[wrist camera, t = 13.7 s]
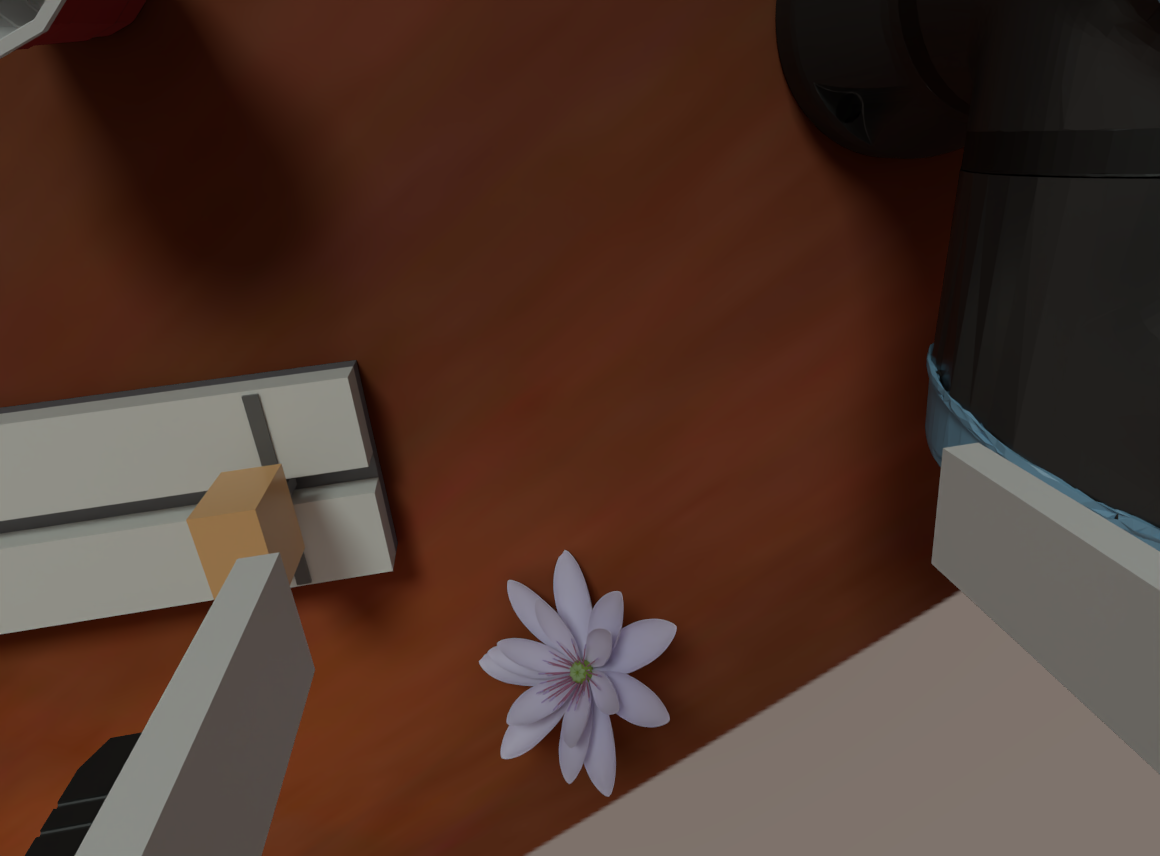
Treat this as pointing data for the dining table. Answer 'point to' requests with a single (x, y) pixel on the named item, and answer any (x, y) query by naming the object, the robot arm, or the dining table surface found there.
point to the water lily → (577, 673)
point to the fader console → (178, 489)
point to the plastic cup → (61, 21)
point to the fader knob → (246, 522)
